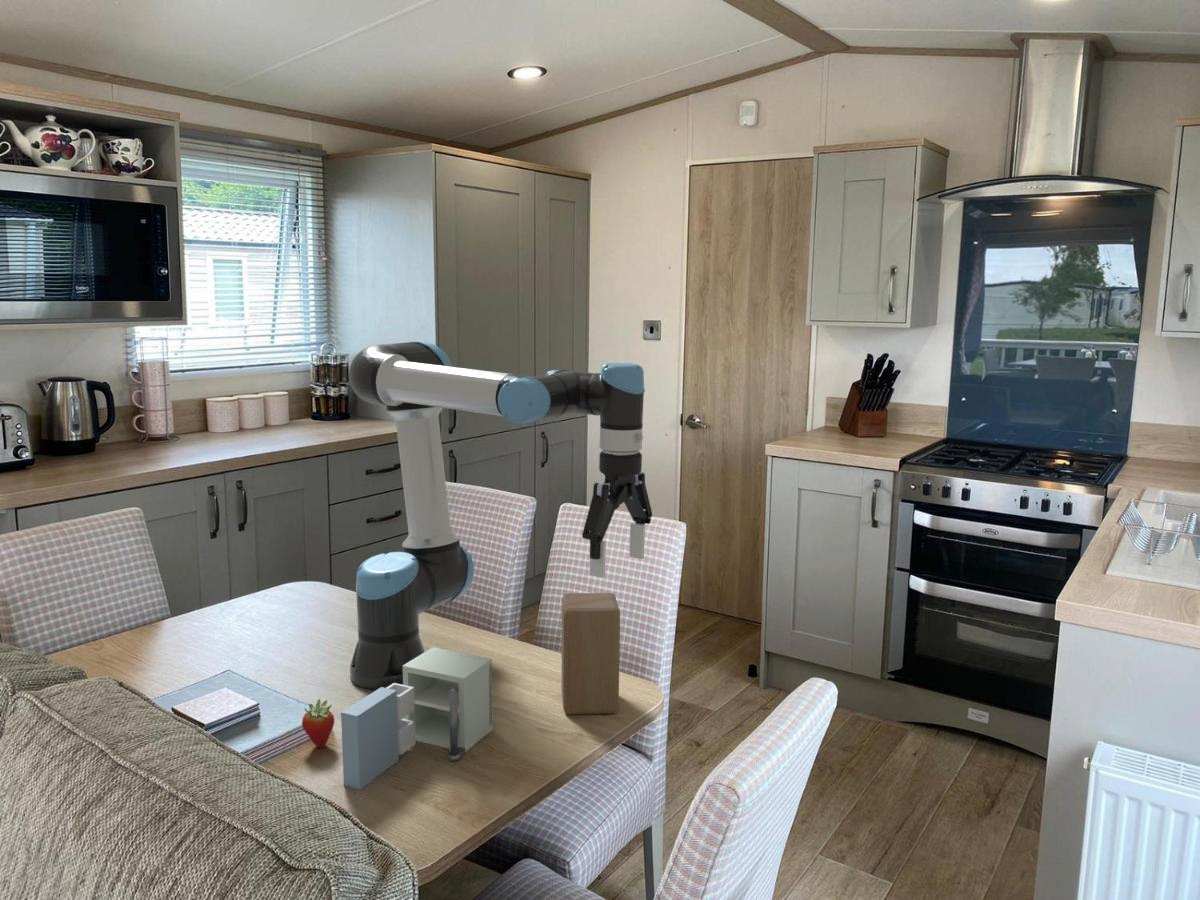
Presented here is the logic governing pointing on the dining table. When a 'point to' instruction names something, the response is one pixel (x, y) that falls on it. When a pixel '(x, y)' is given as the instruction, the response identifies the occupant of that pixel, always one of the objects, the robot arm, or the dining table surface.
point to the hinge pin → (454, 729)
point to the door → (376, 733)
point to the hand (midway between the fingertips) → (617, 566)
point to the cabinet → (431, 696)
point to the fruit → (318, 723)
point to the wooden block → (590, 653)
